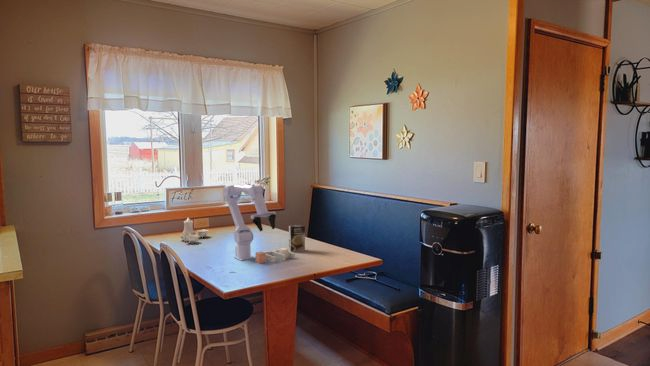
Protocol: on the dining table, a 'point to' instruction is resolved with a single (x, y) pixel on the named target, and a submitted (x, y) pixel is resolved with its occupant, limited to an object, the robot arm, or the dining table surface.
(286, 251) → the cream block
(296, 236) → the coffee box
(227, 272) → the dining table surface
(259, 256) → the terracotta block
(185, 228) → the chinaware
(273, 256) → the slot rack
